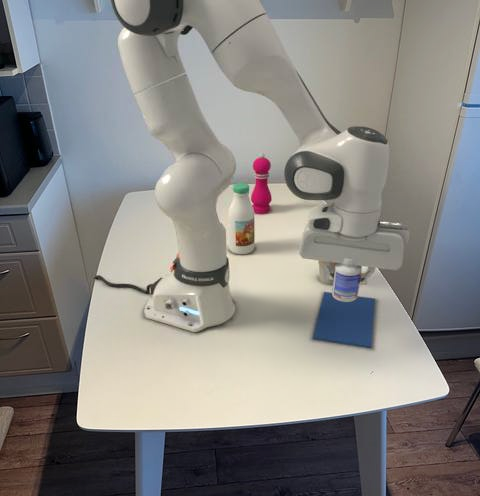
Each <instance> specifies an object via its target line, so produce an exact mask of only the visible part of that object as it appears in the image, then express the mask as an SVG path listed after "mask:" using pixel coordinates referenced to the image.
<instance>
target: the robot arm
mask: <svg viewBox="0 0 480 496" xmlns="http://www.w3.org/2000/svg"><path fill="white" fill-rule="evenodd" d="M110 2H111V3H110V4H111V6H112V10H113V12H114V15H115V17H116V19H117V20H118V22H119V23H120V24H121V25H122V27H123V28H121V31H120V32H119V35H118V37H117V47H118V48H117V49H118V52H119V57H120V60H121V63H122V68H123V70H124V73H125V76H126V79H127V82H128V85H129V88H130V90H131V93H132V94H133V97H134V100H135V101H136V104H137V107H138V109H139V111H140V113H141V116H142V118H143V120H144V122H145V125H146V128H147V130H148V132H149V133H150V135H151V136H152V137H153V138H154V139H157V140H159V141H160V142H161V143H162V144H163V145H165V147H166V148H167V150H169V152H170V154H171V155H172V156H173V158H174V160H175V162H173V163H172V164H171V165H169V166H168V167H166V169H165V170H164V171H163V173H162V175H160V177H159V179H158V181H157V182H156V184H155V187H154V198H155V201H156V204H157V206H158V208H159V210H160V211H161V212H162V213H163V214H164V215H165V216H167V217H168V218H170V220H171V222H172V224H173V227H174V229H175V233H176V239H177V240H176V241H177V248H178V249H177V250H178V253H176V256H175V257H176V258H175V259H173V261H172V264H171V266H170V267H169V268H170V272H169V273H168V274H165V275H164V276H163V277H162V276H161V277H159V278H158V279H157V280H156V281H154V282H153V283H149V284H148V285H146V286H145V287H146V290H145V289H143V288H141V287H139V286H137V285H135V284H132V283H115V282H111V281H110V282H109V281H108V280H106V279H105V278H104V277H103V276H101V275H99V274H98V275H95V276H94V277H93V279H94V280H100V281H102V283H104V284H105V285H107V286H109V287H115V288H116V287H117V288H122V287H123V288H125V287H126V288H133V289H135V290H136V291H138V292H140V293H143V294H149V293H150V295H151V296H150V297H149V299H148V300H147V302H146V303H145V305H144V317H145V318H146V319H148V320H152V321H156V322H159V323H163V324H165V325H168V326H173V327H175V328H179V329H182V330H186V331H189V332H192V333H198V332H201V331H203V330H204V329H207V328H209V327H210V328H211V327H214V326H219V325H222V324H224V323H226V322H227V321H229V320H230V319H231V318H232V317H233V316H234V315H235V312H236V306H235V304H234V301H233V298H232V294H231V289H230V277H231V273H230V272H231V270H230V268H231V267H230V261H229V257H228V252H227V248H228V247H227V229H226V226H225V225H224V224H223V223H222V222H221V221H220V219H219V215H218V211H217V203H218V199H219V197H220V196H221V194H223V193H224V192H225V191H226V190H227V189H228V188H229V187H230V185H231V184H232V181H233V180H234V176H235V173H236V171H237V161H236V158H235V155H234V154H233V152H232V151H231V149H230V148H229V147H228V146H226V145H224V144H223V143H222V142H221V141H220V140H219V138H218V137H217V136H216V134H215V133H214V131H213V129H212V128H211V126H210V124H209V123H208V122H207V119H206V118H205V115H204V114H203V112H202V109H201V108H200V105H199V103H198V100H197V97H196V95H195V92H194V89H193V87H192V84H191V82H190V79H189V77H188V74H187V71H186V68H185V66H184V64H183V61H182V58H181V56H180V53H179V47H178V41H179V37H180V35H182V36H186V35H188V34H190V31H191V30H192V29H194V30H196V31H197V33H199V35H200V36H201V38H202V39H203V41H204V43H205V45H206V47H207V48H208V50H209V52H210V54H211V56H212V57H213V59H214V60H215V63H216V65H217V66H218V68H219V69H220V71H221V72H222V73H223V75H224V76H225V77H226V79H228V80H229V82H230V83H231V84H232V85H233V87H235V88H237V89H239V90H242V91H244V92H248V93H252V94H257V95H260V96H263V97H265V98H267V99H268V100H270V101H272V102H273V103H274V105H276V107H277V108H278V109H279V111H280V112H281V114H282V115H283V117H284V118H285V120H286V122H287V123H288V125H289V126H290V127H291V130H292V131H293V132H294V134H295V136H296V137H297V139H298V142H299V148H298V149H296V150H295V152H294V153H293V154H292V155H291V156H290V157H289V158H288V160H287V161H286V163H285V166H284V171H283V173H284V174H283V175H284V181H285V184H286V186H287V188H288V190H289V191H290V192H291V193H292V194H293V195H294V196H295V197H297V198H299V199H301V200H304V201H332V200H333V202H329V203H325V204H320V205H315V206H314V207H313V208H312V209H311V210H310V212H309V214H308V218H307V223H306V224H305V227H304V229H303V232H302V235H301V239H300V243H299V248H298V255H299V256H300V257H301V258H302V259H305V260H311V261H313V260H314V261H318V260H319V261H323V267H324V269H325V271H326V273H327V278H326V279H327V280H334V270H335V269H331V267H330V262H334V263H343V262H344V259H345V258H346V259H353V265H357V266H362V267H367V270H366V272H365V273H362V272H361V277H360V283H359V285H364V286H367V285H368V279H369V278H370V277H371V276H372V275H373V274H374V273H375V272H376V269H383V270H388V271H389V270H390V271H398V270H399V269H401V268H402V267H403V261H404V251H405V246H407V244H408V243H409V241H410V237H411V230H410V228H409V227H408V226H406V225H404V223H402V222H391V221H388V220H387V221H386V220H380V217H381V213H382V205H383V201H382V193H383V190H384V188H385V186H386V183H387V176H388V171H389V162H390V145H389V141H388V139H387V137H386V136H385V135H384V134H383V133H382V132H380V131H379V130H376V129H374V128H372V127H368V126H362V125H360V126H358V125H353V126H350V127H347V128H346V129H345V130H343V131H342V132H341V131H340V130H339V129H337V128H336V127H335V126H334V125H333V124H332V123H330V121H329V120H328V119H327V118H326V116H325V115H324V113H323V112H322V110H321V108H320V106H319V105H318V103H317V101H316V100H315V98H314V96H313V95H312V92H310V90H309V89H308V87H307V84H306V83H305V81H304V80H303V78H302V77H301V75H300V74H299V72H298V71H297V69H296V67H295V66H294V63H293V62H292V60H291V58H290V56H289V55H288V53H287V51H286V49H285V47H284V45H283V43H282V41H281V39H280V37H279V35H278V33H277V31H276V29H275V27H274V25H273V23H272V21H271V20H270V17H269V15H268V14H267V11H266V10H265V8H264V6H263V4H262V3H261V1H260V0H110Z"/></svg>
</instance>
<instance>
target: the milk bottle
mask: <svg viewBox="0 0 480 496" xmlns="http://www.w3.org/2000/svg"><path fill="white" fill-rule="evenodd" d="M232 194H233V198H232V201H231V204H230V206H229V209H228V215H227V216H228V219H227V220H228V222H227V223H228V224H227V225H228V249H229V251H230V252H231V253H232V254H233V253H234V254H237V255H247V254H250V253H252V252H254V250H255V236H256V235H255V229H256V228H255V227H256V226H255V225H256V224H255V222H256V221H255V213H254V209H253V206H252V205H253V203H252V201H251V199H250V196H249V195H250V185H249V184H248V183H244V182H237V183H234V184H233V185H232Z"/></svg>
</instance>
